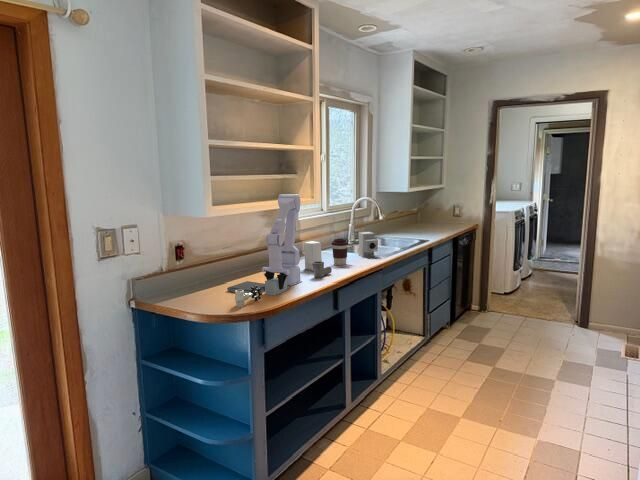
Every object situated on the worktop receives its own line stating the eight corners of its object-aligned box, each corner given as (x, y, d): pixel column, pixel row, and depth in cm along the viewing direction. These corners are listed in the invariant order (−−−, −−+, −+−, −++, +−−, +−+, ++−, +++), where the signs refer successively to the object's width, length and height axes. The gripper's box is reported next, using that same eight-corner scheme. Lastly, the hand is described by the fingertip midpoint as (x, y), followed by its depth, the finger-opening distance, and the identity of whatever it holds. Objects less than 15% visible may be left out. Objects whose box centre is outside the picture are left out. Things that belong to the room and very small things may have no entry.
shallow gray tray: (247, 284, 218) (247, 280, 218) (271, 288, 210) (271, 284, 210) (227, 291, 206) (227, 287, 206) (252, 295, 199) (252, 291, 198)
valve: (242, 308, 180) (262, 301, 189) (241, 292, 179) (262, 286, 188) (230, 306, 184) (251, 299, 193) (230, 290, 183) (250, 284, 192)
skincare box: (322, 269, 250) (321, 242, 247) (313, 271, 246) (312, 243, 243) (313, 267, 256) (312, 240, 254) (304, 268, 252) (303, 241, 250)
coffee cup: (329, 265, 260) (329, 240, 258) (334, 262, 270) (334, 237, 267) (345, 266, 257) (345, 240, 255) (350, 263, 266) (350, 238, 264)
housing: (278, 288, 209) (278, 275, 208) (287, 290, 207) (286, 276, 206) (265, 293, 201) (264, 279, 200) (274, 295, 198) (273, 281, 197)
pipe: (333, 274, 236) (333, 260, 235) (317, 279, 227) (317, 264, 226) (325, 273, 240) (325, 258, 239) (308, 277, 231) (308, 262, 230)
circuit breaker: (368, 258, 278) (368, 235, 276) (358, 255, 292) (358, 232, 289) (378, 257, 281) (379, 234, 279) (368, 254, 294) (368, 231, 292)
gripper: (257, 259, 202) (258, 288, 204) (283, 262, 195) (283, 292, 197) (267, 256, 208) (267, 284, 210) (292, 259, 200) (293, 288, 203)
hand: (276, 288), depth 204 cm, fingers closed on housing, 5 cm apart
